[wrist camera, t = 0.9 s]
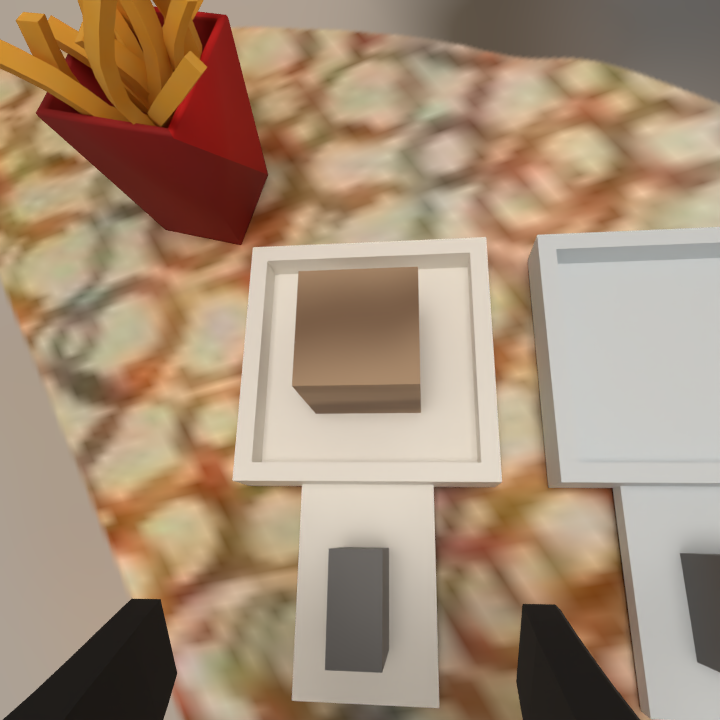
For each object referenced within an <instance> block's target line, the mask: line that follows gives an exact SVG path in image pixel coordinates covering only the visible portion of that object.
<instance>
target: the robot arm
mask: <svg viewBox="0 0 720 720" xmlns="http://www.w3.org/2000/svg"><path fill="white" fill-rule="evenodd" d="M176 675H177V670H176V666H175V662H174V657H173V653H172V648H171V644H170V639H169V635H168V630H167V626H166V622H165V617H164V613H163V608H162V604H161V599H131V600H130V601H129V602H128V603H127V604H126V605H125V606H124V607H122V608H121V609H120V610H119V611H118V612H117V613H116V614H115V615H114V616H113V617H112V618H111V619H110V620H109V621H108V622H107V623H106V624H105V625H104V626H103V627H102V628H101V629H100V630H99V631H97V632H96V633H95V634H94V635H93V636H92V637H91V638H90V639H89V640H88V641H87V642H86V643H85V644H84V645H83V646H82V647H81V648H80V649H79V650H78V651H77V652H76V653H75V654H74V655H73V656H72V657H71V658H70V659H69V660H68V661H66V662H65V663H64V664H63V665H62V666H61V667H60V668H59V669H58V670H57V671H56V672H55V673H54V674H53V675H52V676H51V677H49V679H47V680H46V681H45V682H44V683H43V684H42V685H41V686H40V687H39V688H38V689H37V690H36V691H35V692H33V693H32V694H31V695H30V696H29V697H28V698H27V699H26V700H25V701H23V702H22V703H21V704H20V705H19V706H18V707H17V708H16V709H15V710H13V711H12V712H11V713H10V714H9V715H8V716H7V717H5V718H4V719H3V720H163V719H164V715H165V712H166V709H167V706H168V703H169V699H170V696H171V693H172V689H173V686H174V682H175V679H176ZM516 682H517V688H518V694H519V700H520V706H521V712H522V717H523V720H640V719H639V718H638V717H637V715H636V714H635V713H634V711H633V710H632V709H631V708H630V706H629V705H628V704H627V702H626V701H625V700H624V699H623V697H622V696H621V695H620V693H619V692H618V691H617V690H616V688H615V687H614V686H613V684H612V683H611V682H610V680H609V679H608V678H607V676H606V675H605V674H604V672H603V671H602V669H601V668H600V667H599V665H598V664H597V663H596V661H595V660H594V658H593V657H592V656H591V654H590V653H589V651H588V650H587V649H586V647H585V646H584V644H583V643H582V641H581V640H580V638H579V637H578V636H577V634H576V633H575V631H574V630H573V628H572V627H571V625H570V624H569V622H568V621H567V619H566V618H565V616H564V615H563V613H562V611H561V610H560V609H559V608H558V607H557V606H556V605H546V604H523V606H522V618H521V631H520V643H519V655H518V668H517V680H516Z"/></svg>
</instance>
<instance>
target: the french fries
mask: <svg viewBox="0 0 720 720" xmlns="http://www.w3.org/2000/svg"><path fill="white" fill-rule="evenodd" d="M153 2H154V3H155V5H156V6H157V7H153V5H152V3H151V1H150V0H78V3H79V6H80V9H81V12H82V15H83V22H82V24H81V27H80V29H79V32H78V31H76V30H75V29H73V28H71V27H70V26H68V25H66V24H64V23H63V22H61V21H60V20H58V19H56V18H55V17H53V16H50V18H49V20H48V21H47V18H46V16H45V14H38V13H27V12H23V13H22V14H21V15H20V16H19V17H18V18H17V20H16V22H17V24H18V26H19V28H20V30H21V32H22V34H23V36H24V38H25V40H26V42H27V45H28V47H29V49H30V51H31V53H32V55H33V56H32V55H30V54H28V53H27V52H25V51H23V50H21V49H19V48H17V47H15V46H13V45H11V44H9V43H7V42H5V41H2V40H0V69H3V70H5V71H7V72H9V73H11V74H14V75H16V76H18V77H20V78H22V79H24V80H26V81H28V82H30V83H31V84H33V85H35V86H37V87H39V88H41V89H43V90H45V91H47V93H46V95H45V97H44V99H43V101H42V103H41V104H40V106H39V108H38V110H37V112H36V114H37V115H38V117H40V118H41V119H42V120H43V121H44V122H45V123H46V124H47V125H49V126H50V127H51V128H52V129H53V130H54V131H55V132H56V133H58V134H59V135H60V136H61V137H62V138H63V139H64V140H65V141H67V142H68V143H69V144H70V145H71V146H72V147H73V148H74V149H76V150H77V151H78V152H79V153H80V154H81V155H82V156H83V157H85V158H86V159H87V160H88V161H89V162H90V163H91V164H92V165H94V166H95V167H96V168H97V169H98V170H99V171H100V172H101V173H103V174H104V175H105V176H106V177H107V178H108V179H109V180H110V181H112V182H113V183H114V184H115V185H116V186H117V187H118V188H119V189H121V190H122V191H123V192H124V193H125V194H126V195H127V196H128V197H130V198H131V199H132V200H133V201H134V202H135V203H136V204H137V205H139V206H140V207H141V208H142V209H143V210H144V211H145V212H146V213H148V214H149V215H150V216H151V217H152V218H153V219H154V220H155V221H157V222H158V223H159V224H160V225H161V226H162V227H163V228H164V229H166V230H170V231H175V232H179V233H184V234H189V235H194V236H199V237H204V238H209V239H214V240H219V241H224V242H228V243H233V244H238V245H241V244H242V241H243V239H244V236H245V233H246V231H247V228H248V225H249V223H250V220H251V218H252V215H253V212H254V210H255V207H256V205H257V202H258V199H259V197H260V194H261V192H262V189H263V186H264V184H265V181H266V179H267V176H268V173H267V169H266V165H265V161H264V157H263V153H262V149H261V145H260V141H259V137H258V133H257V130H256V126H255V122H254V118H253V114H252V110H251V106H250V102H249V98H248V94H247V90H246V86H245V82H244V78H243V74H242V70H241V67H240V63H239V59H238V55H237V51H236V47H235V43H234V39H233V35H232V31H231V27H230V23H229V20H228V17H227V16H226V15H221V14H214V13H205V12H198V10H199V8H200V6H201V4H202V2H203V0H153ZM60 49H61V50H63V51H64V52H66V53H68V55H67V57H66V59H65V58H64V56H63V54H62V52H61V50H60Z"/></svg>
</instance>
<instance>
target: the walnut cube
mask: <svg viewBox="0 0 720 720" xmlns="http://www.w3.org/2000/svg"><path fill="white" fill-rule="evenodd" d="M292 387H293V388H294V389H295V390H296V391H297V392H298V394H299V395H300V396H301V397H302V398H303V399H304V401H305V402H306V403H307V404H308V405H309V406H310V408H311V409H312V410H313V411H314V412H315V413H316V414H349V413H421V390H420V339H419V288H418V267H394V268H368V269H342V270H316V271H298V288H297V305H296V323H295V340H294V358H293V375H292Z"/></svg>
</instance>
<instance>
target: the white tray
mask: <svg viewBox="0 0 720 720" xmlns="http://www.w3.org/2000/svg"><path fill="white" fill-rule="evenodd" d="M394 267H418V288H419V339H420V390H421V413H349V414H316V413H315V412H314V411H313V410H312V409H311V408H310V406H309V405H308V404H307V403H306V402H305V401H304V399H303V398H302V397H301V396H300V395H299V394H298V392H297V391H296V390H295V389H294V388H293V387H292V375H293V358H294V340H295V323H296V305H297V288H298V271H316V270H342V269H368V268H394ZM233 481H236V482H239V483H242V484H246V485H249V486H302V499H301V520H300V540H299V561H298V582H297V603H296V623H295V644H294V665H293V686H292V701H307V702H327V703H347V704H366V705H386V706H406V707H425V708H439V674H438V635H437V597H436V559H435V521H434V487H496V486H497V485H498V484H500V483H501V482H502V474H501V459H500V443H499V428H498V412H497V397H496V382H495V366H494V351H493V336H492V320H491V305H490V289H489V274H488V259H487V243H486V237H480V238H457V239H434V240H411V241H388V242H365V243H342V244H319V245H296V246H274V247H253V253H252V265H251V276H250V287H249V299H248V310H247V321H246V333H245V344H244V356H243V367H242V378H241V390H240V401H239V413H238V424H237V435H236V447H235V458H234V470H233Z"/></svg>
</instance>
